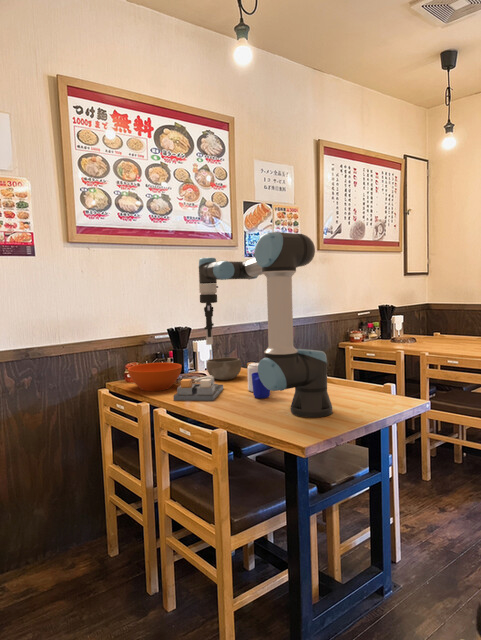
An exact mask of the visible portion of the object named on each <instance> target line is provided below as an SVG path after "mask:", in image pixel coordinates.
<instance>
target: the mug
mask: <svg viewBox="0 0 481 640" xmlns="http://www.w3.org/2000/svg"><path fill="white" fill-rule="evenodd" d="M252 384H253V392H252V393H253V396H254V398H256V399H261V400H262V399H263V400H264V399H268V398H270V395H271V390H268V389H267V388H266V387H265V386H264V385H263V383H262V382H261V380H260V378H259V375H258V372H256V373H252Z"/></svg>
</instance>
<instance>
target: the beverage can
mask: <svg viewBox="0 0 481 640" xmlns="http://www.w3.org/2000/svg"><path fill="white" fill-rule="evenodd" d="M258 364H259V362H251V363H249V364H248V366H247V390H248V391H250V392H251V393H253V384H252V373H256V372H258Z"/></svg>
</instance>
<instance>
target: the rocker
mask: <svg viewBox="0 0 481 640" xmlns="http://www.w3.org/2000/svg"><path fill="white" fill-rule="evenodd" d="M206 377H212V375H211V376H210V375H207V376H203V377H202V376H201V377H197V378H195V379H194V380H193V381H194V383H196V382H200V381H201V380H202V379H206Z"/></svg>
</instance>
